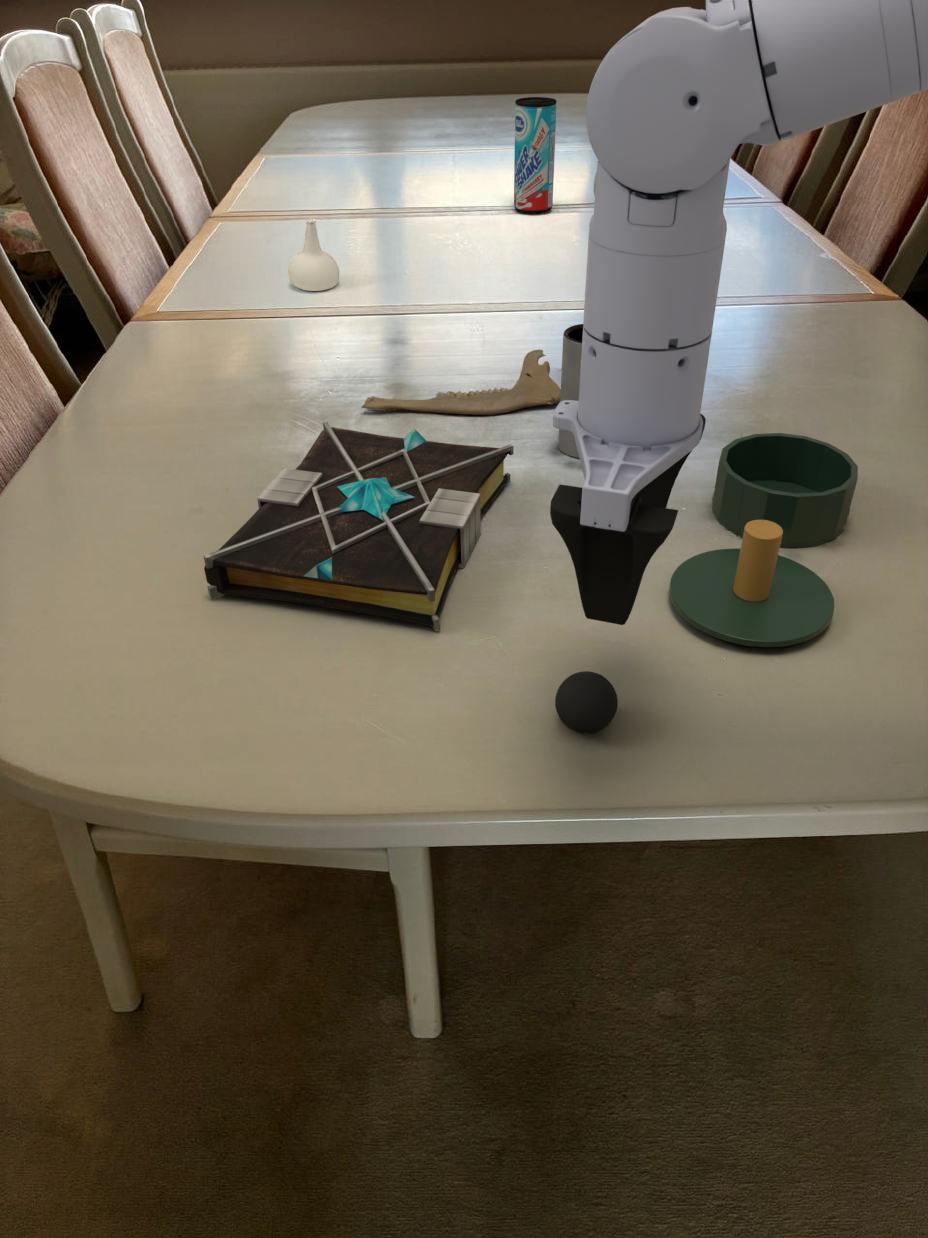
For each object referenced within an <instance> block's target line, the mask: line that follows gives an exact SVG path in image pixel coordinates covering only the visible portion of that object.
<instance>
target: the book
mask: <svg viewBox="0 0 928 1238" xmlns="http://www.w3.org/2000/svg"><path fill="white" fill-rule="evenodd" d="M322 428H323V430H321V432H320V433H319V435H318V436H317V438H316V439H315V441H314V442H313V444H312V445H311V447H310V449H309V450H308V452H307V453H306V454H305V456H304V457H303V459H302V461H301V463H300V464H299V465H298V466H296V468H295V469H294V468H286V467H285V468H284V467H283V469H282V470H280V472H279V473H278V474H277V475H276V476H275V477H274V478H273V480H272V481H270V483H269V484H267V486H266V487H265V488H264V490H263V491H262V492H261V493H260V494H259V495H258V496H257V505H258V506H257V507H258V509H257V510H256V512H255V513H254V514H253V515H252V516H251V517H250V518H248V520H247V521H246V522H245V523H244V524H243V525H242V526H240V528H239V529H238V530H237V531H236V532H235V533H233V535H232V536H231V537H230V538H229V539H228V540H227V541H226V542H224V544H223V545H221V547H220V548H219V549H218V550H216V551H213V552H210V553H208V554H205V555H202V556H203V560H204V567H203V569H204V575H205V578H206V579H205V580H206V582H207V584H208V585H207V591H208V592H207V593H208V596H209V598H210V599H211V600H214V599H216V598H219V597H221V596H223V595H229V596H239V597H249V598H257V599H265V600H274V601H282V602H283V601H284V602H290V603H297V604H304V605H310V606H316V607H322V608H328V609H336V610H341V611H349V612H354V613H355V612H356V613H359V614H360V613H361V614H367V615H373V616H379V617H384V618H389V619H394V620H400V621H405V622H410V623H415V624H420V625H426V626H431V627H432V629H433V630H434V631H435V632H436V631H437V632H438V631H441V621H440V620H441V619H440V614H441V611H442V609H443V606H444V603H445V600H446V598H447V595H448V591H449V589H450V586H451V583H452V581H453V579H454V577H455V574H456V572H457V569H458V568H460V569H465V567H466V565H467V563H468V560H469V558H471V557H470V556H471V554H472V552H473V551H474V548H475V546H476V544H477V543H478V540H479V539H480V536H481V534H482V533H481V531H482V530H481V529H482V528H481V522H482V521H481V520H482V519H481V518H482V516H483V515H484V513H485V512H486V511H487V509H488V508H489V507H490V505H491V504H492V503H493V501H494V500H495V499H496V497H497V496H498V494H499V493H500V492H501V490H502V489H503V488H504V486H505V485H508V484H511V474H510V473H509V472H506V473H504V467H505V465H504V464H505V463H504V462H505V459H506V457H507V456H508V455H509V456H513V455H514V445H513V444H511V443H510V444H507V445H505V446H502V447H493V446H491V447H490V446H481V445H480V446H477V445H467V444H454V443H448V442H447V443H445V442H439V441H431V440H426V439H425V437H423V435H421V433H420V432H419V431H418V430H417V429H416V428H413V429H412V430H411V431H410V432H409V433H408V434H406V436H405V437H398V436H397V437H396V436H389V435H381V434H376V433H369V432H363V431H357V430H353V429H347V428H342V427H341V428H340V427H334V426H331V425H330V424H329V422H328V421H322Z"/></svg>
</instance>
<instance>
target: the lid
mask: <svg viewBox="0 0 928 1238" xmlns="http://www.w3.org/2000/svg"><path fill="white" fill-rule="evenodd" d="M782 535H783V530H782V528H781V527H780V526H779V525H778V524H776V523H774V522H771V521H768V520H753V521H750V522H748V523H747V524H746V525H745V528H744V533H743V537H742V539H741V544H740V548H721V549H714V550H708V551H705V552H702V553H699V554H698V553H697V554H696V555H693V556H692V557H690V558H688V559H685V561H683V562H682V563H681V564H680V565H679V566H677V567H676V569H675V570H674V571H673V573H672V575H671V578H670V582H669V597H670V601H671V602H672V606H673V607H674V609H675V610H676V611H677V612H678V614H679V615H680V617H682V618H683V619H684V620H685V621H686V622H687V623H688V624H690V625H691V626H693V627H694V628H696V629H697V630H699V631H701V632H703V633H705V634H707V635H709V636H711V637H714V638H716V639H719V640H722V641H725V642H728V643H731V644H737V645H742V646H747V647H757V648H779V647H788V646H794V645H798V644H801V643H805V642H807V641H809V640H812V639H813V638H816V636H818V635H820V634H821V633H822V632H823V631H824V630H826V628H827V627H828V626H829V625H830V623H831V621H832V619H833V615H834V612H835V599H834V595H833V593H832V591H831V589H830V588H829V586H828V585H827V583H826V582H825V581H824V580H823V578H821V577H820V576H819V575H818V574H817V573H815V571H813V570H812V569H810V568H808V567H807V566H805V565H803V564H801V563H800V562H797V561H795V560H793V559H791V558H788V557H785V556H782V555H779V553H780V548H781V547H780V544H781V539H782Z"/></svg>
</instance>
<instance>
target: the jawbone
mask: <svg viewBox="0 0 928 1238" xmlns="http://www.w3.org/2000/svg"><path fill="white" fill-rule="evenodd" d="M543 357H546V354H544V350H543V349H533V350H531V351H528V352H527V353H526V354H525V356H524V358H523V361H522V362H523V363H522V367H521V371H520V375H519V378H518V380H517V382H516V383H515V384H514V385H513V387H512V388H507V387H506V388H504V387H503V386H501V387H500V388H499V389H498V388H497V387H494V388H493V389H491V388H488V390H485V389H482V390H481V391H479V390H478V389H477V390H475V391H471V390H469V391H468V392H465V391H464V392H461V391H460V390H458V391H456V392H454V391H451V390H450V391H449V390H448V391H447V392H442V391H440V392H437V393H436V396H435V397H432V398H427V399H399V398H383V397H378V396H373V395H372V396H370V397H369V396H368V397H366V399H365V400H364V403H363V404H362V405H361V408H362V409H367V410H379V411H381V410H382V411H385V413H386V412H394V411H400V410H408V411H412V412H422V413H423V412H424V413H440V414H441V413H442V414H455V415H456V414H457V415H477V416H492V415H493V416H494V415H499V414H500V415H501V414H505V413H511V412H515V411H517V410H521V409H525V408H530V407H535V406H543V405H544V406H546V405H554V404H556V403H559V402H560V394H561V387H560V386H559V385H558V383H556V382H555V380H553V379H552V378H551V376H550V372H551V366H550V362H549V361H548V360H545V361H544V362H543V363H542V364H539V360H540V359H541V358H543Z"/></svg>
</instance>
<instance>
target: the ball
mask: <svg viewBox="0 0 928 1238" xmlns="http://www.w3.org/2000/svg"><path fill="white" fill-rule="evenodd" d="M556 690H557V691H556V693H555V698H554V699H555V700H554V707H555V711H556V714H557V716H558V718H559V720H560V721H561V722H562V723H563V725H564V726H566V727H567V728H568V729H569V730H571V731H573V732H575V733H578V734H584V735H586V734H587V735H589V734H596V733H599V732H600V731H603V730H604V729H605V728H607V727H608V726H609V725H610V724H611V723H612V722H613V720H614V719H615V717H616V714H617V712H618V708H619V699H618V694H617V691H616V689H615V687H614V685H613V684H612V683H611V681H610V680H609V679H607V678H606V677H605V676H603V675H602V674H600V673H598V672H595V671H589V670H587V671H586V670H584V671H578V672H575V673H573V674H571V675H569V676H567V677H566V678H565V679H564V680H563V681H562V682H561V683H560V685H559V687H558V689H556Z"/></svg>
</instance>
